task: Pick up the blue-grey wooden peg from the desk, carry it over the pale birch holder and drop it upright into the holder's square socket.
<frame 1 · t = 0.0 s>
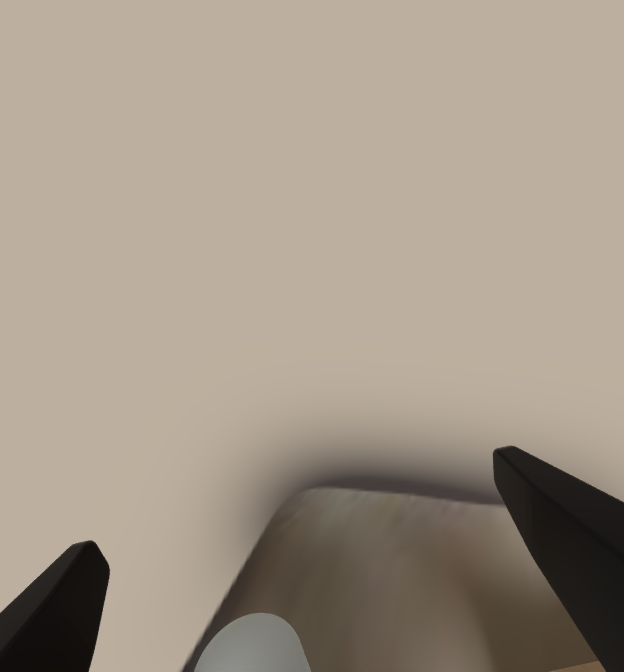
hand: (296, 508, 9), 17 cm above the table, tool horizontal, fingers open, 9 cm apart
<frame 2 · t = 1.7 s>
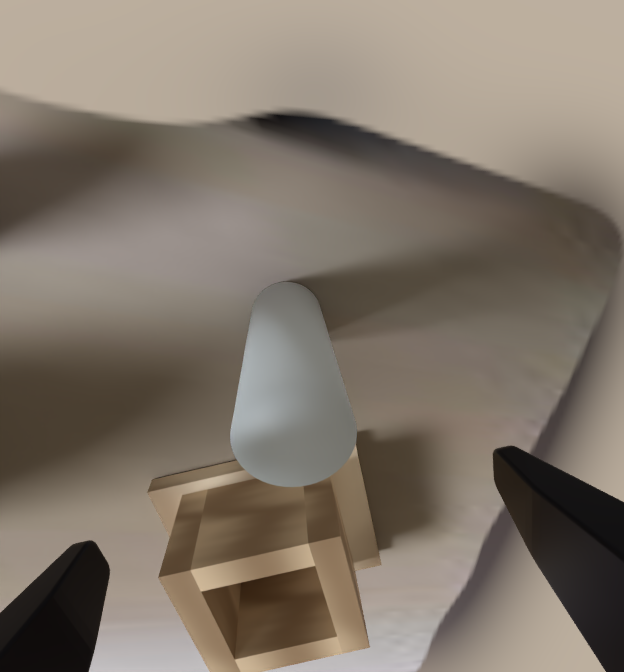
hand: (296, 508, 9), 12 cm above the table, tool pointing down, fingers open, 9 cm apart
peg: (286, 315, 20), on the table
bottle holder: (273, 518, 25), on the table
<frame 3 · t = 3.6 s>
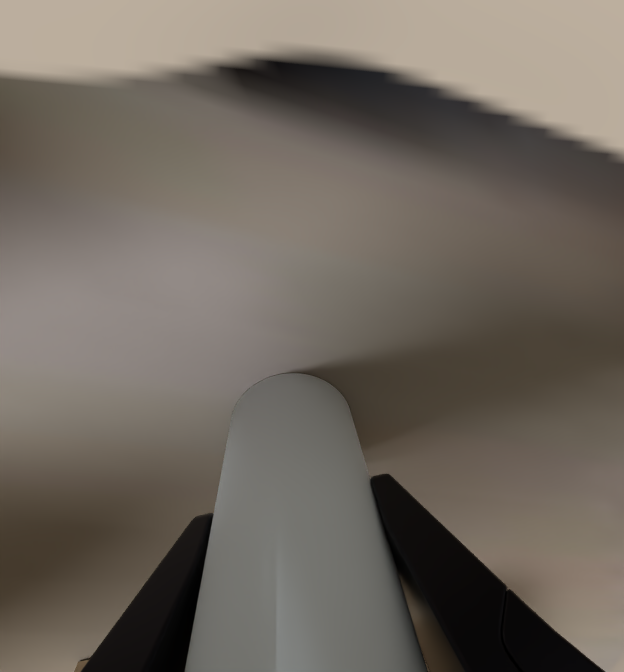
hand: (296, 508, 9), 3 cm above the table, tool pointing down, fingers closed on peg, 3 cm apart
peg: (291, 426, 12), on the table, touching gripper
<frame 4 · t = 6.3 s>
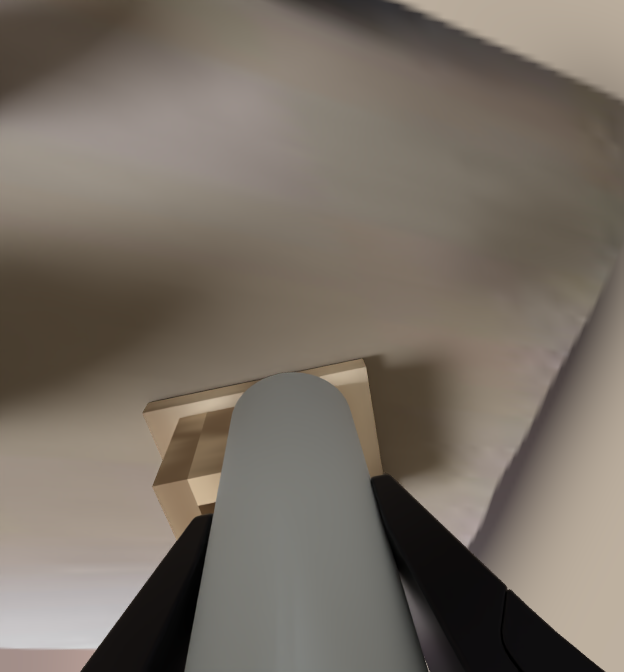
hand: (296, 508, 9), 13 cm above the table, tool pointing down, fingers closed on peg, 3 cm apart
peg: (292, 425, 12), point 10 cm above the table, touching gripper
bottle holder: (275, 452, 24), on the table
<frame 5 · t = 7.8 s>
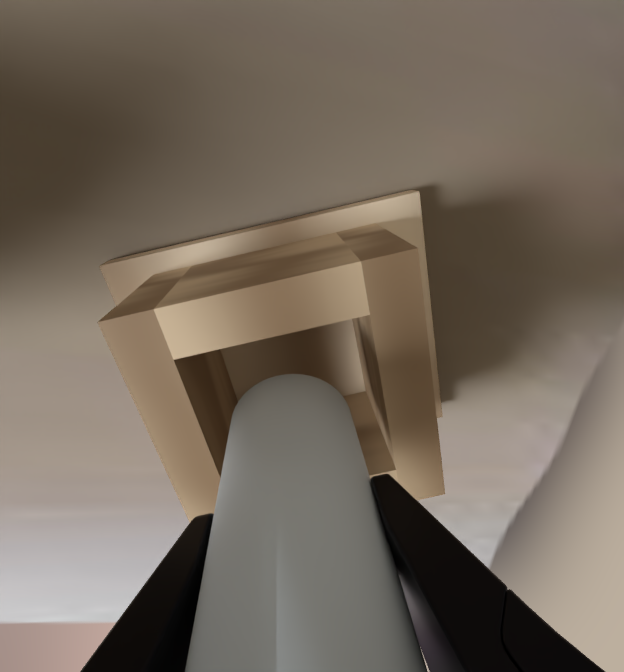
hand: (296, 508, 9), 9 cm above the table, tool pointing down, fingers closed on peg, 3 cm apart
peg: (291, 427, 12), point 6 cm above the table, touching gripper
bottle holder: (289, 340, 18), on the table
when the fingers open (7 cm above the table, at t = 9.0 s): peg drops 3 cm, resting on bottle holder.
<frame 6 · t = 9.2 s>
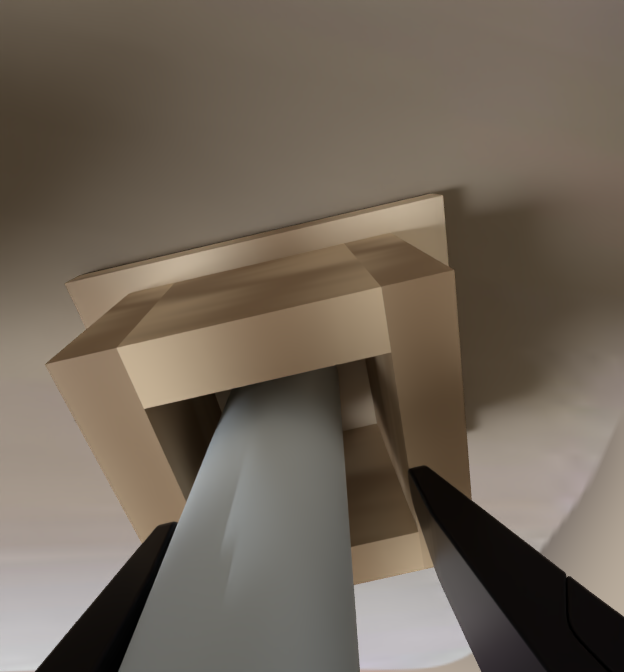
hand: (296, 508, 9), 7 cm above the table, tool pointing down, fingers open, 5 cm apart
peg: (289, 380, 14), point 1 cm above the table, tilted 6°, touching bottle holder, gripper
bottle holder: (289, 365, 15), on the table
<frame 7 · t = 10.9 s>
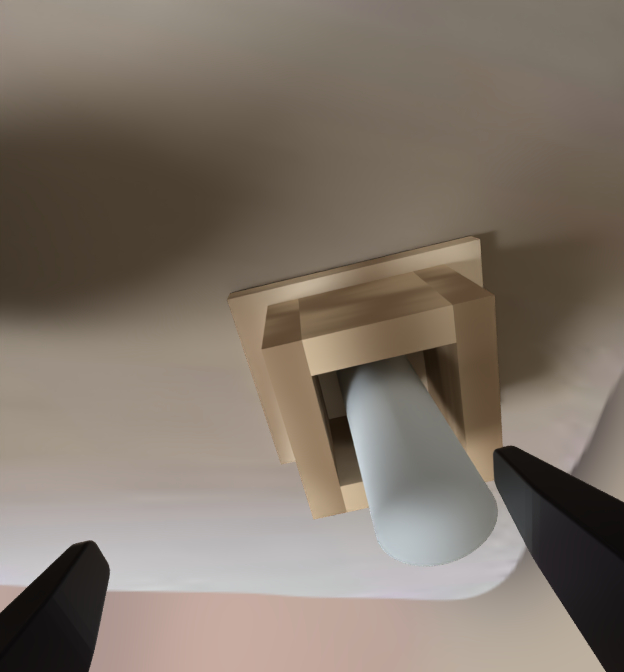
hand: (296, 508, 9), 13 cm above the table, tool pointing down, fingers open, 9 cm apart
peg: (369, 363, 21), point 1 cm above the table, touching bottle holder
bottle holder: (366, 355, 22), on the table
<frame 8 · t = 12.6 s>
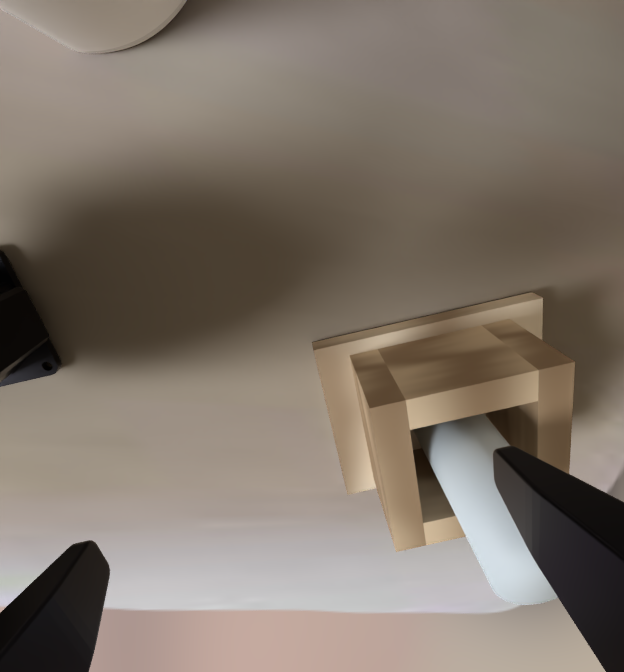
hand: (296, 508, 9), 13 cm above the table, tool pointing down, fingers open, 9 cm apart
peg: (436, 405, 23), point 1 cm above the table, touching bottle holder
bottle holder: (430, 395, 24), on the table
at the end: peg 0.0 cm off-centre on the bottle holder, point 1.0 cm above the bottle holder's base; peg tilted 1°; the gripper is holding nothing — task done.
